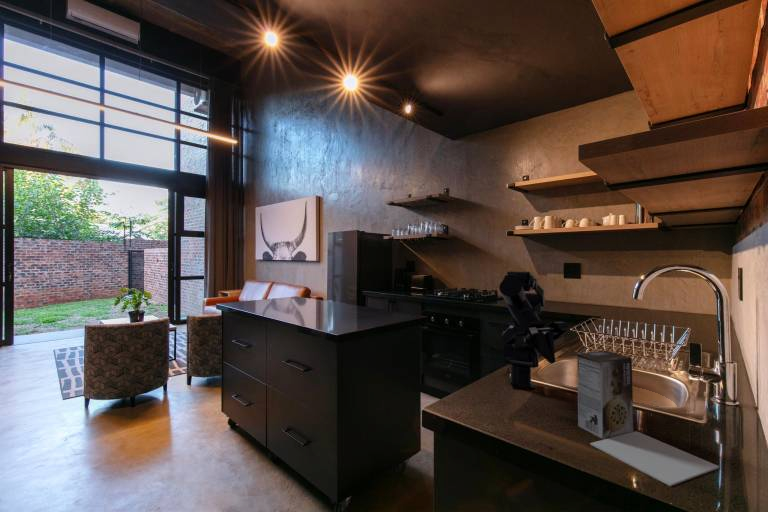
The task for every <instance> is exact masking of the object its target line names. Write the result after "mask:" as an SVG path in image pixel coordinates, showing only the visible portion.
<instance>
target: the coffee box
mask: <svg viewBox="0 0 768 512" xmlns="http://www.w3.org/2000/svg"><path fill="white" fill-rule="evenodd" d="M576 355H577V357H576V358H577V426H578V427H579V428H580V429H583V430H585V431H587V432H588V433H590V434H592V435H594V436H596V437H598V438H600V439H601V440H604V439H608V438H612V437H616V436H620V435H623V434H627V433H631V432H634V408H633V406H634V405H633V404H634V403H633V396H634V395H633V394H634V393H633V392H634V391H633V361H632V360H633V359H632V357H631V356H627V355H626V356H625V355H623V354H620V353H617V352H613V351H608V350H601V351H592V352H584V353H577V354H576Z"/></svg>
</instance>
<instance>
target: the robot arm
mask: <svg viewBox="0 0 768 512" xmlns="http://www.w3.org/2000/svg"><path fill="white" fill-rule="evenodd" d="M498 288H499V291H500V294H501V296H502V298H503V300H504V304H505V305H506V307H507V308H508V310H509V313H510V314H511V316H512V319H511V323H512V324H511V325H509V326H508V327H507V328H506V329H505V330H503V331H502V333H501V339H500V340H501V342H502V343H503V359H504V360H503V361H504V365H509V367H510V369H509V371H510V375H509V376H510V379H506V383H508V385H510V388H512V389H521V390H523V389H525V390H526V389H527V390H528V389H529V390H530V389H531V390H536V386H535V385H534V384H533V383H532V369H535V368H539V354H540V356H542V357H543V358H544V359H545V360H546V361H547V362H548V363H550V364H554V363H556V355H555V344H554V342H555V341H558V340H559V339H561V337H563V336H564V335H565V334H566V333H568V331H570V330H571V329H570V327H569V326H568V324H567V323H566V322H564V321H553V322H551V323H550V324H549V325H548V326H547V327H545V325H546V324H547V322H546V321H545V320H544V319H543V320H542V319H540V317H539V316H538V315H539V314H541V313H542V312H543V308H545V303H546V300H545V299H546V298H545V290H544V289H543V288H542V287H541V286H540V285H539V283H538V278H535V277H534V275H533V274H532V272H531V271H523V270H522V271H518V270H514V271H513V270H512V271H511V270H510V271H507V273H506V274H505V275H504V276H503V279H502V281H501V282H500V283H499V286H498ZM533 290H534V292H535V293H534V292H531V291H533Z"/></svg>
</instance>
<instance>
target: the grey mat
mask: <svg viewBox="0 0 768 512" xmlns="http://www.w3.org/2000/svg"><path fill="white" fill-rule="evenodd" d="M589 444H590V446H593V447H594V448H596V449H597V450H600V451H601V452H603V453H605V454H607V455H609V456H611V457H613V458H615V459H617V460H619V461H621V462H622V463H625V464H627V465H629V466H631V467H632V468H634V469H636V470H638V471H640V472H642V473H644V474H646V475H647V476H650V477H651V478H654V479H655V480H657V481H660V482H661V483H662V484H663V483H664V484H665V485H667V486H669V487H673V486H675V485H678V484H681V483H682V482H685V481H689V480H691V479H694V478H697V477H700V476H702V475H705V474H708V473H709V472H712V471H716V470H718V469H720V466H719V465H717V464H715V463H712V462H710V461H708V460H705V459H702V458H700V457H698V456H696V455H693V454H691V453H689V452H686V451H684V450H681V449H679V448H677V447H675V446H672V445H670V444H668V443H665V442H662V441H660V440H658V439H656V438H653V437H651V436H649V435H646V434H644V433H643V432H639V431H637V430H635V431H633V432H631V433H627V434H623V435H619V436H614V437H610V438H606V439H601V440H597V441H594V442H590V443H589Z"/></svg>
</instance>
